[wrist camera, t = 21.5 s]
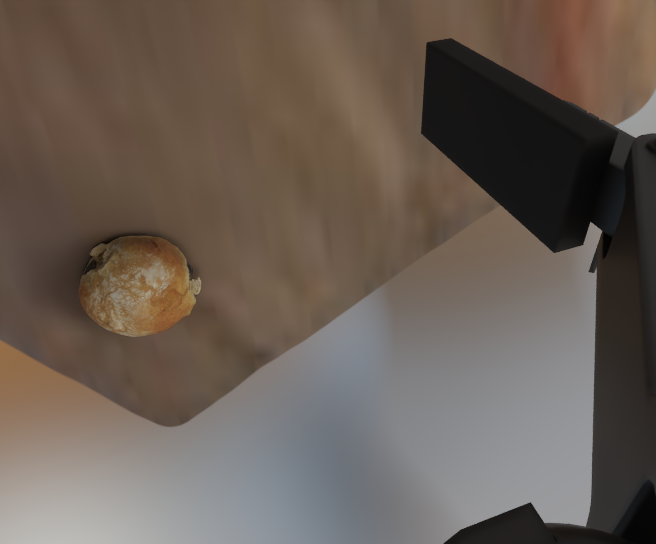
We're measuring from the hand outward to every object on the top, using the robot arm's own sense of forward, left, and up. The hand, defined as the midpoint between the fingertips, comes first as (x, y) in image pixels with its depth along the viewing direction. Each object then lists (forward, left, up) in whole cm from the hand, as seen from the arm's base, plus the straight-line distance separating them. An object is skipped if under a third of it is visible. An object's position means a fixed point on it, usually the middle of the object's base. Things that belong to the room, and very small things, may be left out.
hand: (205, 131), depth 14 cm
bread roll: (+25, -7, -30) cm, 40 cm away
